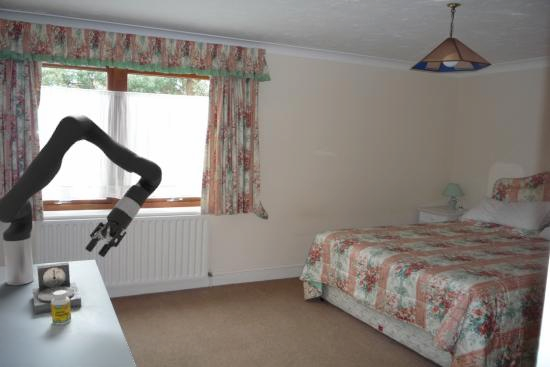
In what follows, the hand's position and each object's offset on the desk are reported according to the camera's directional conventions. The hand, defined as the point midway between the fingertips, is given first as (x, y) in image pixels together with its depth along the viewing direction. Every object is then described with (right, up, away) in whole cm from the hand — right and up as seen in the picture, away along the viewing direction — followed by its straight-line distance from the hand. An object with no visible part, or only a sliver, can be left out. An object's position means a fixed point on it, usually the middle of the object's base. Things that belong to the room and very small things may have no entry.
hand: (94, 253), depth 154 cm
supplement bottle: (-8, -21, -6) cm, 23 cm away
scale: (-17, -18, +10) cm, 27 cm away
